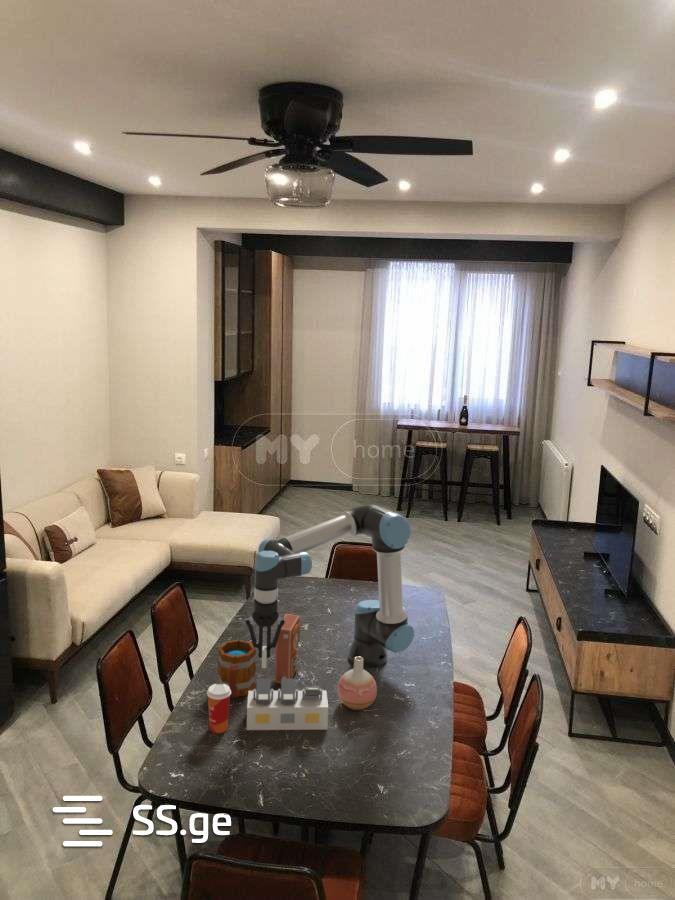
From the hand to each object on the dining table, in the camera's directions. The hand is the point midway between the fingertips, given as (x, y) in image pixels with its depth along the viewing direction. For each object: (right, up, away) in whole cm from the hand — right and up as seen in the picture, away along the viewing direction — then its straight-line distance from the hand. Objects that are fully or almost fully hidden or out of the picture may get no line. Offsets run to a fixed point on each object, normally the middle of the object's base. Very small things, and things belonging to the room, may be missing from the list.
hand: (264, 666), depth 231 cm
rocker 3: (+16, -8, 0) cm, 18 cm away
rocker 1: (0, -8, -2) cm, 8 cm away
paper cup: (-14, -19, -4) cm, 24 cm away
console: (+7, -18, +1) cm, 20 cm away
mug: (-12, -14, +17) cm, 26 cm away
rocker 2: (+8, -8, -1) cm, 11 cm away
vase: (+31, -17, +12) cm, 37 cm away
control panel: (+5, -13, +30) cm, 33 cm away
